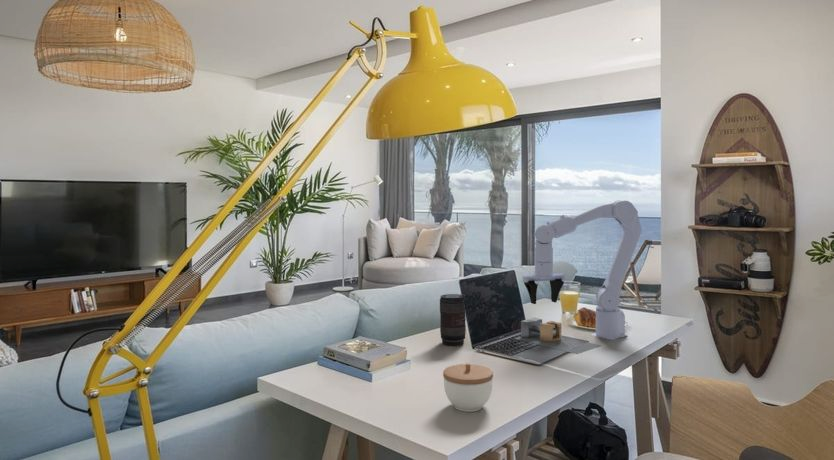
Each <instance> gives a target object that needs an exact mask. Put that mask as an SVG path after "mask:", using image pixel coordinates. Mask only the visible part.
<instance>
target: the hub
mask: <svg viewBox="0 0 834 460" xmlns="http://www.w3.org/2000/svg"><path fill="white" fill-rule="evenodd" d="M555 327H556V330H557V335H556V336H553V328H555ZM561 337H562V322H558V321H553V320H549V321H547V322H542V323H541V324H540V341H543V342H548V343H554V342H557V341H560V340H561Z"/></svg>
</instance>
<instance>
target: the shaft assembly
mask: <svg viewBox="0 0 834 460" xmlns="http://www.w3.org/2000/svg"><path fill="white" fill-rule="evenodd" d="M541 323H543V318H540V317H531V318H527V319H523V320H521V321H520V337H523V338H527V339H530V338H533V337H537V336H540V324H541ZM556 335H557V330H556V327H555V328H553V336H556Z"/></svg>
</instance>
